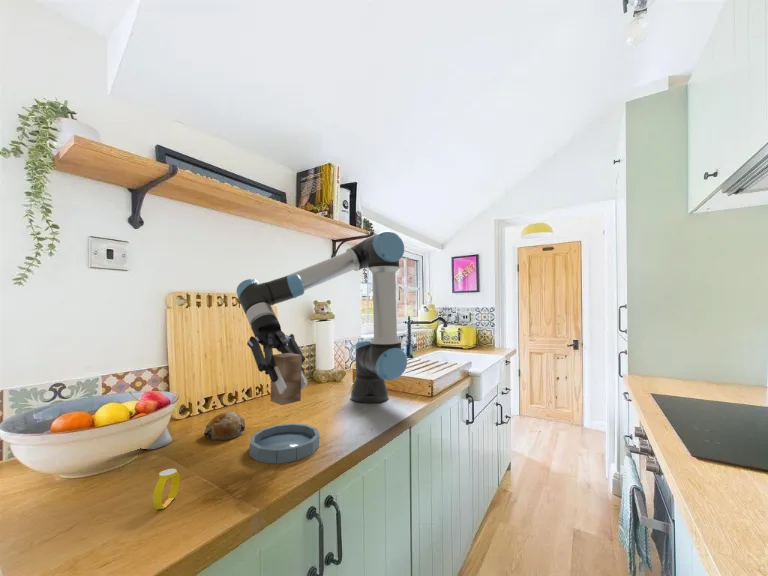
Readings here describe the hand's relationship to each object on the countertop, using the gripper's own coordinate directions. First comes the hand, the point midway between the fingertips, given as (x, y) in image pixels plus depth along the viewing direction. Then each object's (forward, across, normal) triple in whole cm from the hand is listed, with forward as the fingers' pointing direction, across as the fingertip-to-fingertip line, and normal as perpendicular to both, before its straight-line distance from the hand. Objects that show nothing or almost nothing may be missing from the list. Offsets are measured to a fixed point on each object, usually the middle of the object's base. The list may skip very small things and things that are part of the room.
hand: (294, 388), depth 82 cm
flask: (-10, +22, -33) cm, 41 cm away
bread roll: (-5, +7, -28) cm, 30 cm away
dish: (+9, 0, -14) cm, 16 cm away
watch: (+12, +28, -10) cm, 32 cm away
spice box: (0, 0, -5) cm, 5 cm away
